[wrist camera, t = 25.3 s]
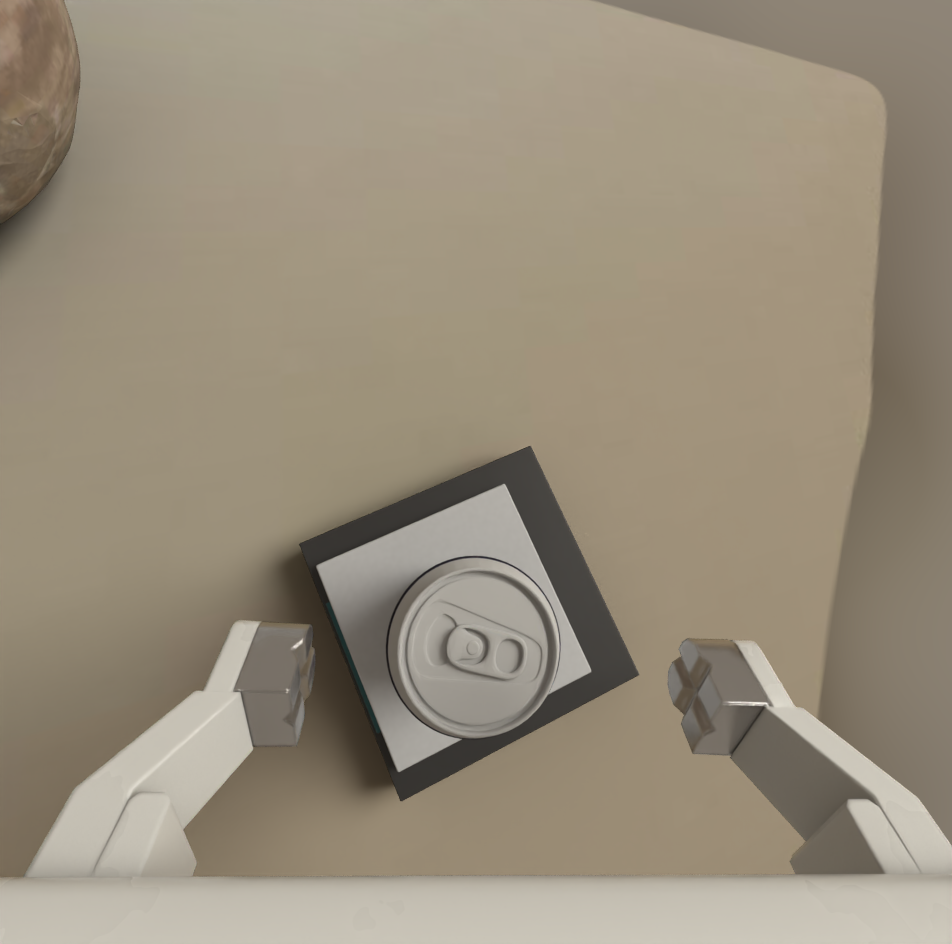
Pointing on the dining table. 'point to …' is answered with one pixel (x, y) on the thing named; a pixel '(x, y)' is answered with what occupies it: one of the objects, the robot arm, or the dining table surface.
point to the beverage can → (473, 647)
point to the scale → (446, 537)
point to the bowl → (34, 97)
